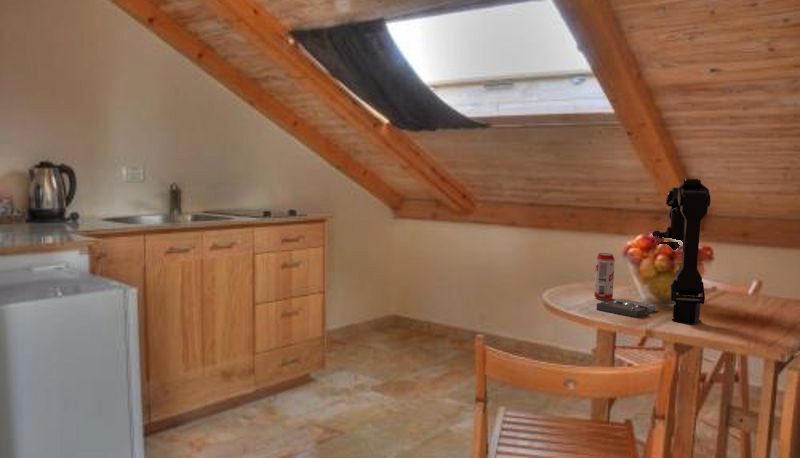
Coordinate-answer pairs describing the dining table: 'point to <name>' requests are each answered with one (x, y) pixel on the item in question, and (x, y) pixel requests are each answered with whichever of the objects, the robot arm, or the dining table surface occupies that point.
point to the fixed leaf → (622, 308)
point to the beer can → (604, 276)
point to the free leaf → (631, 303)
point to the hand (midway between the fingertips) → (676, 269)
